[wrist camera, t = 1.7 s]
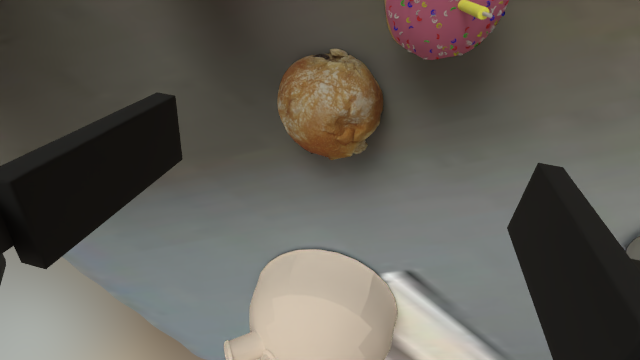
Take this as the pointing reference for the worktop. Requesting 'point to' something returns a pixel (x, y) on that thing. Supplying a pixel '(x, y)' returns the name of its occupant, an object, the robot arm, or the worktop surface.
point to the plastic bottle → (634, 249)
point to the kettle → (317, 311)
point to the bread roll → (330, 104)
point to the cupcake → (442, 24)
